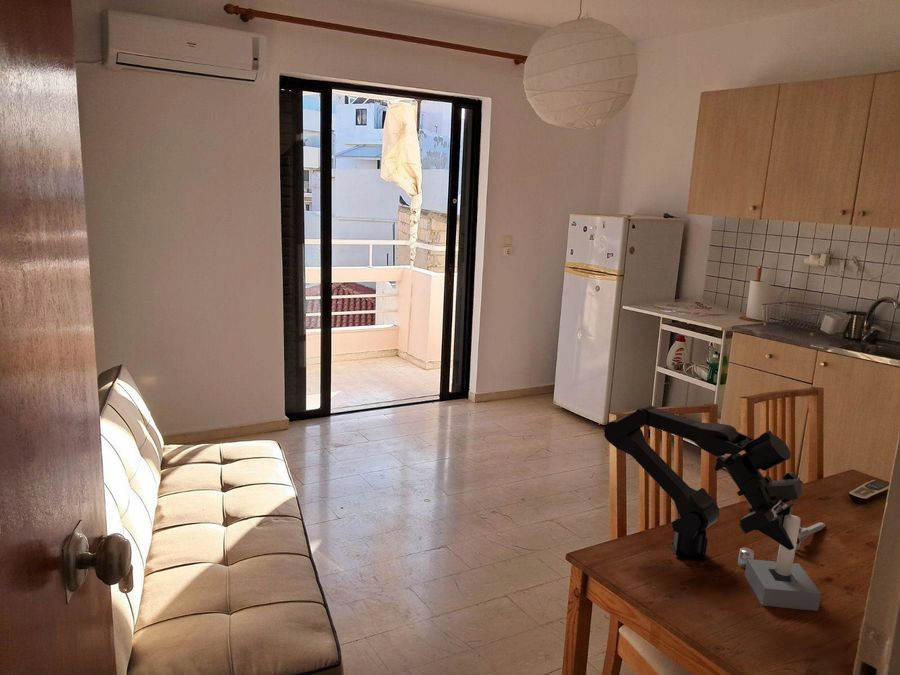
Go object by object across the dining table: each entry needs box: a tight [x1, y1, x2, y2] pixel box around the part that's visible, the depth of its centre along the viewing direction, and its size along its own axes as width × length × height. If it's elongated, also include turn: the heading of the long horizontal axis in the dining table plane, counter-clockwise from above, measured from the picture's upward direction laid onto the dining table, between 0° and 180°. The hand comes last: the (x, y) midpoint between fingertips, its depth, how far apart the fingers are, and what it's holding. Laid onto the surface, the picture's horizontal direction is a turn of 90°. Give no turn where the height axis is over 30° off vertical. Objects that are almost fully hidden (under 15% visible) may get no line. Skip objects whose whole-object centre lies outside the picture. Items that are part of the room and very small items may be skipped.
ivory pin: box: [775, 514, 801, 576], centre depth 139 cm, size 3×3×12 cm
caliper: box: [795, 521, 826, 554], centre depth 164 cm, size 20×1×6 cm, turn 133°
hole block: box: [744, 559, 822, 612], centre depth 141 cm, size 11×11×4 cm
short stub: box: [737, 547, 755, 569], centre depth 151 cm, size 3×3×4 cm
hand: (794, 546), depth 138 cm, fingers closed on ivory pin, 3 cm apart
